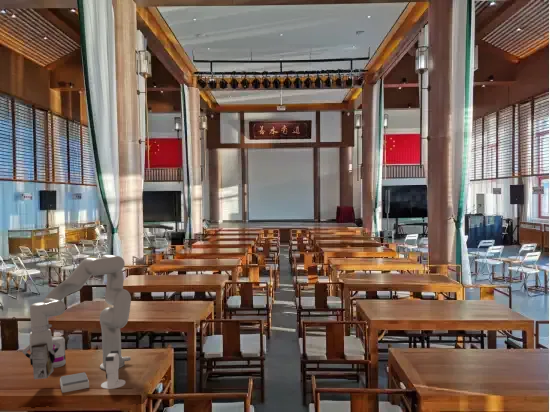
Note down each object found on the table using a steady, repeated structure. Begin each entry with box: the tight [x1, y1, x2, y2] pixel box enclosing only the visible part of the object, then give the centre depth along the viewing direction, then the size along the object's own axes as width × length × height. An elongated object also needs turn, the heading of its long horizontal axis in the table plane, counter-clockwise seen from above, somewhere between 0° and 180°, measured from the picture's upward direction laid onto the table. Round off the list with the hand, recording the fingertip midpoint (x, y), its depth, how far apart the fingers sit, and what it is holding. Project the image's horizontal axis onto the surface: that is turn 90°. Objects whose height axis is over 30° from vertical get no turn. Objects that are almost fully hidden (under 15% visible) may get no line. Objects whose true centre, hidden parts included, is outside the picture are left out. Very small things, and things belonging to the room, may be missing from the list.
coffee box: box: [31, 343, 54, 380], centre depth 243 cm, size 9×6×16 cm
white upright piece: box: [100, 351, 126, 390], centre depth 245 cm, size 12×11×15 cm
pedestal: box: [59, 371, 90, 393], centre depth 244 cm, size 12×12×4 cm
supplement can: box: [52, 335, 67, 369], centre depth 275 cm, size 8×8×15 cm
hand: (42, 364), depth 243 cm, fingers closed on coffee box, 8 cm apart
